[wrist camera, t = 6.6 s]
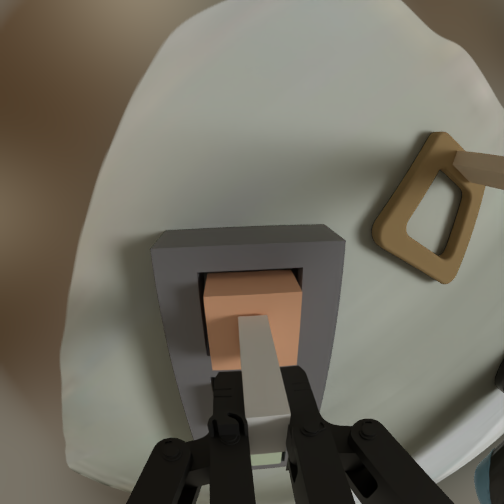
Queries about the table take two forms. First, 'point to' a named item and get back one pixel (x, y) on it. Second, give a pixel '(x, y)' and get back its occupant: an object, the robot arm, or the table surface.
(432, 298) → the table surface
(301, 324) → the keypad
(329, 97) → the table surface
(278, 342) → the terracotta key
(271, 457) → the sage key
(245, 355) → the robot arm
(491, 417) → the table surface
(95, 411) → the table surface
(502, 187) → the headphone stand
